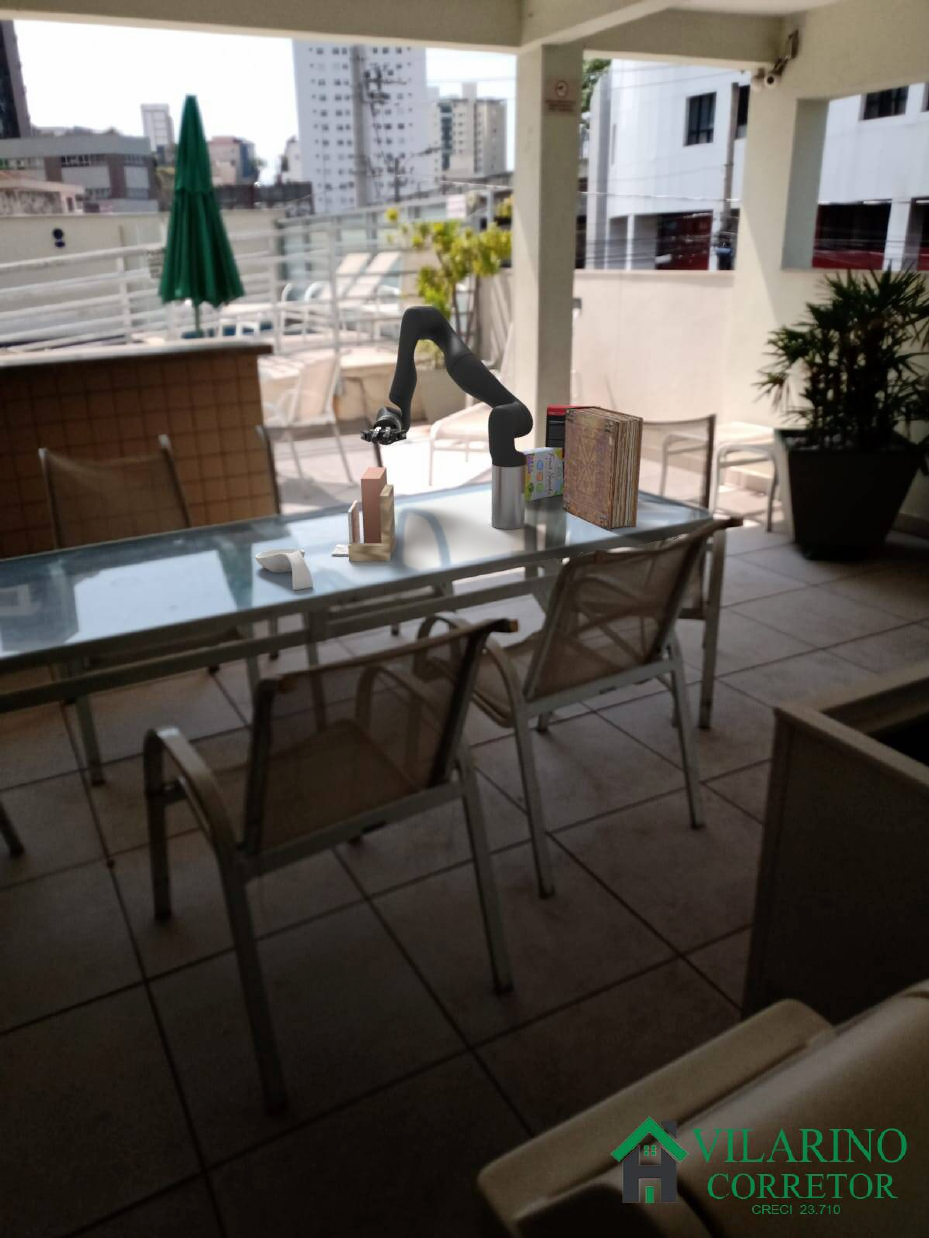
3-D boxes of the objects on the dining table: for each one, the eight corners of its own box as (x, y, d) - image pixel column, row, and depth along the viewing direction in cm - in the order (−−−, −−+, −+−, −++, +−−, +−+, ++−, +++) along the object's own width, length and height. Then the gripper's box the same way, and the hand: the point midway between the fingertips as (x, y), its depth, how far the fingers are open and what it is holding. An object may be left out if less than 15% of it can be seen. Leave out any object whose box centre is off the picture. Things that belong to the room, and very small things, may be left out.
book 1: (388, 532, 245) (386, 467, 238) (382, 547, 232) (379, 478, 225) (371, 532, 245) (368, 467, 239) (364, 547, 232) (360, 478, 226)
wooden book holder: (395, 545, 234) (393, 484, 228) (389, 561, 221) (386, 497, 215) (357, 544, 234) (354, 484, 228) (348, 561, 221) (345, 497, 215)
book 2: (636, 527, 248) (643, 418, 237) (608, 531, 245) (614, 420, 234) (588, 506, 270) (593, 405, 259) (562, 510, 267) (565, 407, 256)
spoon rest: (250, 565, 219) (247, 537, 216) (296, 558, 224) (294, 531, 221) (279, 594, 199) (277, 563, 197) (329, 586, 205) (327, 556, 202)
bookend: (360, 544, 234) (358, 499, 230) (353, 558, 223) (350, 511, 218) (338, 544, 234) (335, 499, 230) (330, 558, 223) (327, 511, 219)
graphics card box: (596, 490, 289) (601, 404, 279) (597, 495, 283) (601, 407, 273) (543, 489, 291) (546, 403, 281) (542, 494, 285) (545, 407, 275)
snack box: (554, 490, 289) (555, 444, 284) (566, 494, 285) (568, 446, 280) (504, 501, 277) (505, 452, 272) (516, 504, 273) (517, 455, 268)
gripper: (362, 416, 257) (353, 426, 241) (410, 416, 256) (404, 426, 240) (363, 442, 260) (354, 454, 243) (411, 442, 259) (405, 454, 243)
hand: (379, 440), depth 242 cm, fingers closed
